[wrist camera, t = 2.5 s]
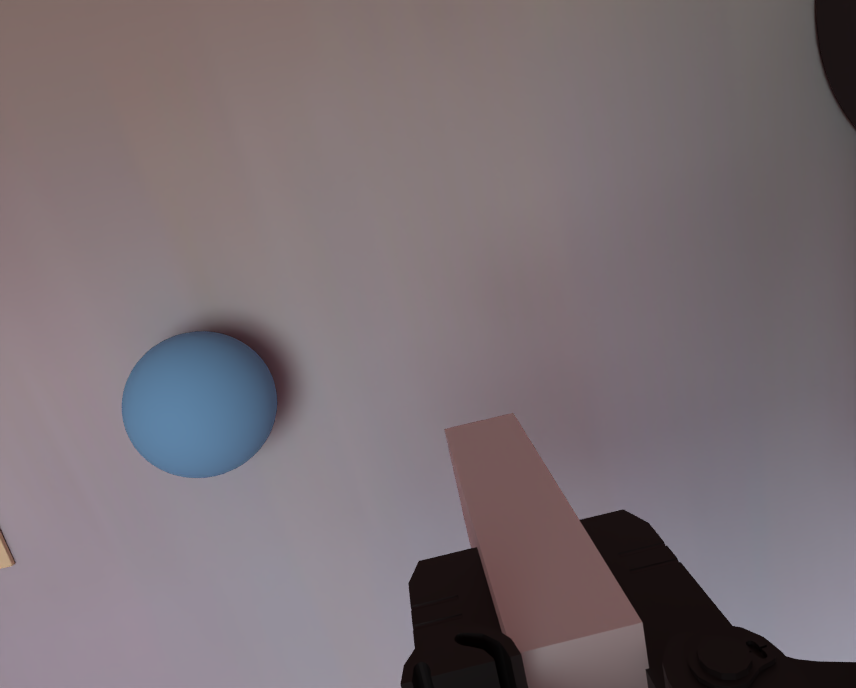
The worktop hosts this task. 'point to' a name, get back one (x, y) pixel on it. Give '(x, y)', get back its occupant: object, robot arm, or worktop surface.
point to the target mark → (5, 554)
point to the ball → (199, 404)
